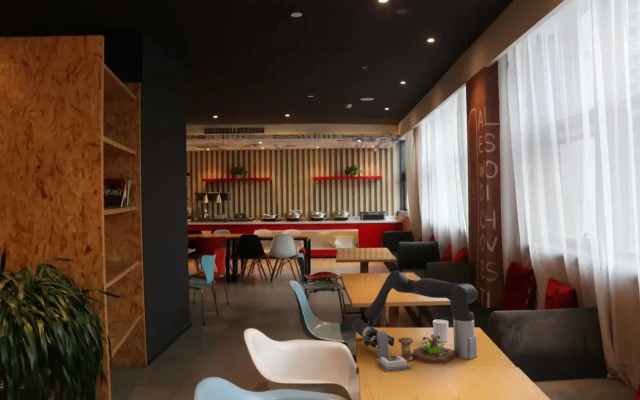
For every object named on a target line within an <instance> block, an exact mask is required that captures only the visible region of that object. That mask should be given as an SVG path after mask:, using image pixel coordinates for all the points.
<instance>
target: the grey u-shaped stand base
mask: <svg viewBox="0 0 640 400" xmlns="http://www.w3.org/2000/svg"><path fill="white" fill-rule="evenodd" d="M395 357H396V358H391V357H388V358H384V357H381V358H378V359H375V363H377V364H378V365H379V366H380V367H381V368H382V367H383V368H384V369H383V368H382V369H383V370H384V371H386V370H387V371H391V372H394V371H393V370H401V371H405V370H404V369H411V370H412V366H410V365H409V364H408V361H406V360H405V359H404V358H402V357H401V355H396V356H395ZM387 371H386V372H387Z"/></svg>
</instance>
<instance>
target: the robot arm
mask: <svg viewBox="0 0 640 400" xmlns="http://www.w3.org/2000/svg"><path fill="white" fill-rule="evenodd" d="M391 290H394V291H396V292H397V293H403V294H414V295H419V296H423V297H427V298H431V299H450V307H451V308H450V309H451V314H452V316H453V317H452V318H453V319H452V320H453V350H454V352H455V353H456V359H457V358H458V359H464V360H472V359H475V358H476V357H477V356H478V354H477V353H478V352H477V336H476V335H475V314H474V313H473V312H472V311H469V304H472V303H474V302H475V301H476V300H477V298H478V297H479V296H478V295H479V293H478V290H477V289H476V287H475V286H474V285H472V284H470V283H457V282H456V283H455V282H453V283H452V282H448V281H444V280H439V279H435V278H429V277H428V278H427V277H423V278H420V279H418V280H414V279H411V278H408V277H407V276H405V274H403V273H402V272H401V271H399V270H397V269H396V270H392V271H391V272H390V273H389V274H388V276H387V277H386V278H385V281H383V284H382V286H381V287H380V290H379V292H378V293H377V296H376V297H375V298H374V300H373V301H372V303H371V304H370V305H369V306H368V308H367V309H366V311H364V316H365V318H366V319H367V322H366V321H364V320H363V319H361V318H356V319H354V320H353V322H352V325H351V328H352V330H353V331H354V332H355V333H356V334H358V335H359V336H361V338H362V343H363V344H364V345H365V347H369V346H370V347H372V348H374V349H377V332H380V331H379V330H378V329H376V328H375V327H374V326H375V323H376V321H377V320H378V318H379V317H380V316H381V315H382V313H383V312H384V310H385V307H386V303H387V299H388V295H389V293H390V292H391ZM394 344H395V337H393V336H391V335H389V334H388V346H391V347H393V346H394Z"/></svg>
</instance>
